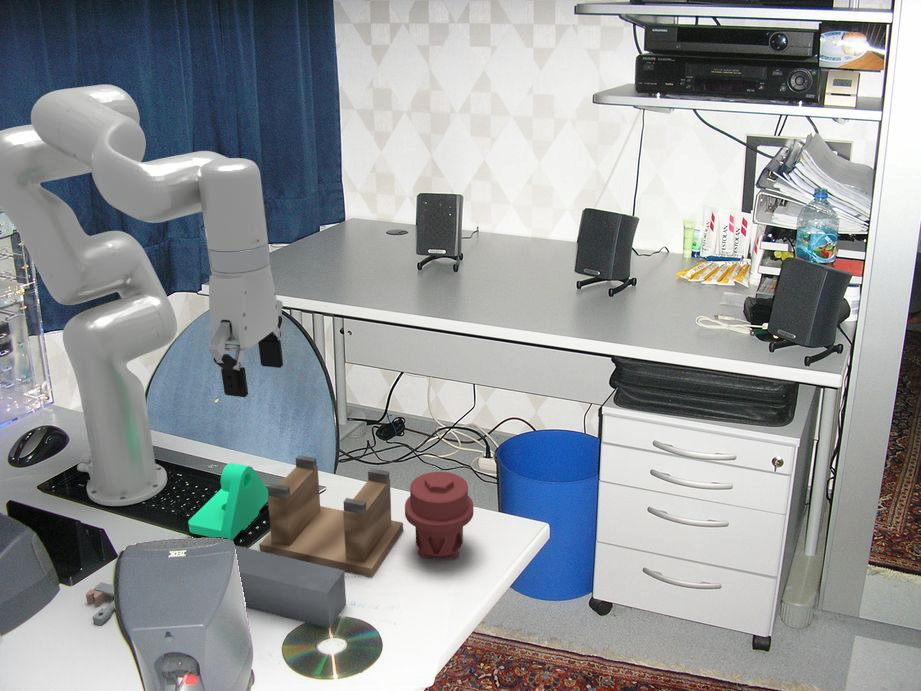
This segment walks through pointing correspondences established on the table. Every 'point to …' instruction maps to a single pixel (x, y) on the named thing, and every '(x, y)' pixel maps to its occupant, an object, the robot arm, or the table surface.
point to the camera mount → (231, 504)
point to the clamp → (101, 601)
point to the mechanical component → (439, 513)
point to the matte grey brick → (291, 587)
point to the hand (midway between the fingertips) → (255, 380)
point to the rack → (331, 522)
